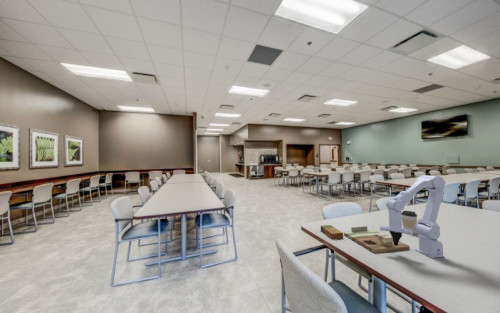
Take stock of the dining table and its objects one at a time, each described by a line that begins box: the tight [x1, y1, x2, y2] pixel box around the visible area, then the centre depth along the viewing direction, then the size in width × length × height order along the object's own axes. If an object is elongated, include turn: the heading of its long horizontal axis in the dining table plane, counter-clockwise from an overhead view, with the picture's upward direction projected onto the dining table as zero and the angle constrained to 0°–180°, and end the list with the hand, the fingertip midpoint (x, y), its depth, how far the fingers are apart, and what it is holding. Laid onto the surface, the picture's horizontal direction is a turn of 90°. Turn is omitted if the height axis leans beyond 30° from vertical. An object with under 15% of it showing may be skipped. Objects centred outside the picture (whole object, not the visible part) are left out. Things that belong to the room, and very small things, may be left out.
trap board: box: [343, 225, 411, 254], centre depth 120 cm, size 26×24×5 cm
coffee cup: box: [401, 210, 418, 235], centre depth 135 cm, size 9×9×15 cm
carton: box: [320, 224, 344, 240], centre depth 133 cm, size 8×16×4 cm, turn 6°
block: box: [378, 233, 393, 247], centre depth 112 cm, size 5×5×5 cm
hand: (395, 245), depth 105 cm, fingers closed
